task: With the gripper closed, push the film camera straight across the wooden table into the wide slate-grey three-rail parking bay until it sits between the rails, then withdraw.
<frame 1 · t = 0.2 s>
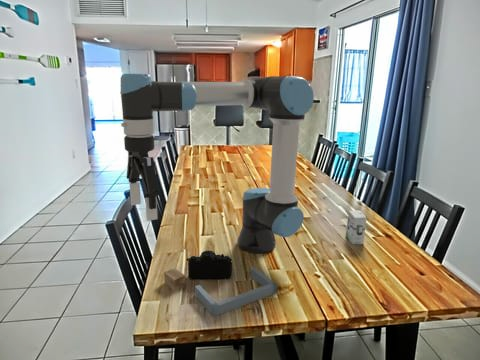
hand: (143, 211, 98), 28 cm above the table, fingers open, 13 cm apart
film camera: (209, 273, 120), on the table
oak chock block: (174, 285, 113), on the table
bay: (237, 294, 108), on the table
ink box: (354, 240, 148), on the table
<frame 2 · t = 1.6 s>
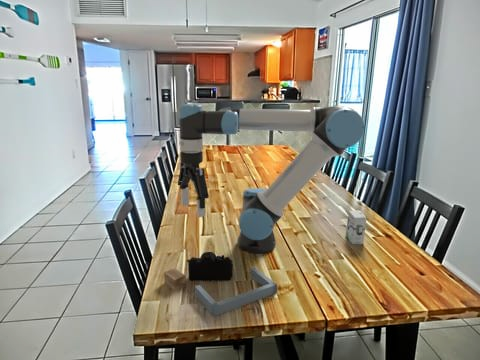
hand: (192, 210, 126), 18 cm above the table, fingers open, 12 cm apart
nothing on the table moved.
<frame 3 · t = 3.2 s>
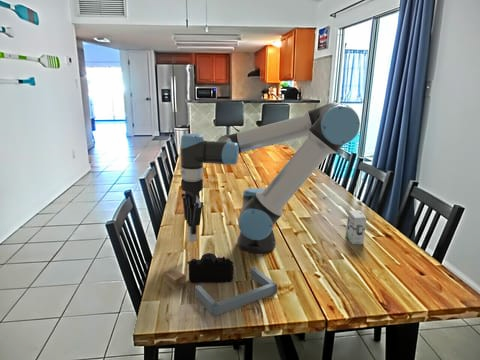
hand: (192, 241, 129), 6 cm above the table, fingers closed
film camera: (210, 276, 119), on the table
everything else where it was.
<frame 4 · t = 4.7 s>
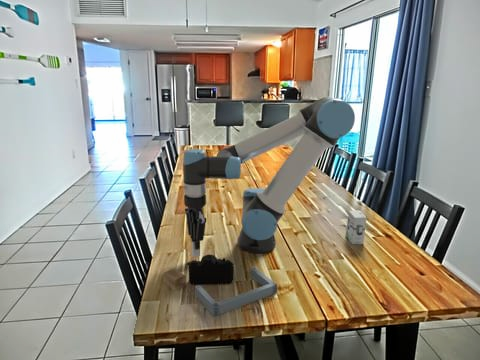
hand: (195, 255, 129), 1 cm above the table, fingers closed
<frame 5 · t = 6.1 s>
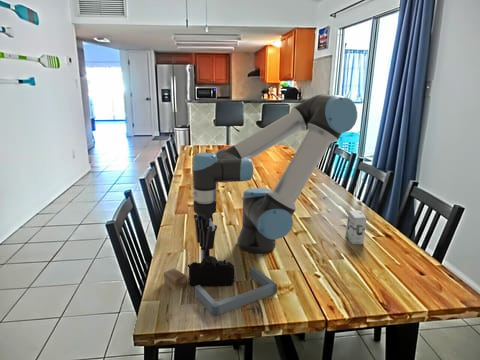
hand: (205, 264, 123), 1 cm above the table, fingers closed
film camera: (211, 280, 116), on the table, touching gripper
everything else where it was.
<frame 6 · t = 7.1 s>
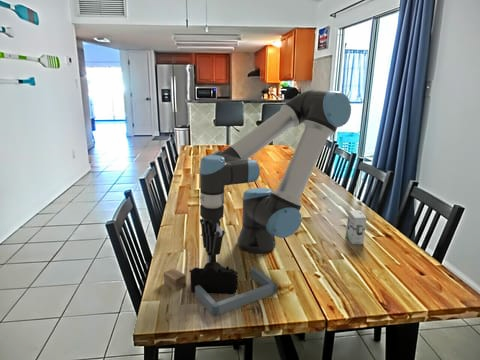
hand: (211, 270, 119), 2 cm above the table, fingers closed
film camera: (213, 286, 113), on the table, touching bay, gripper
everything else where it was.
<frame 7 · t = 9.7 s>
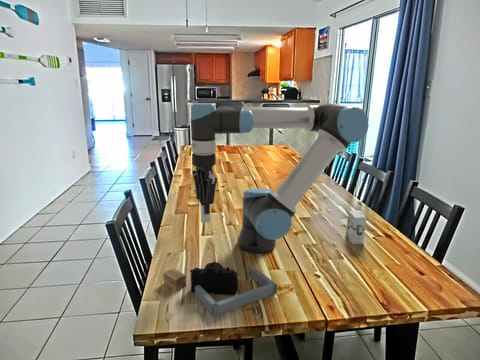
hand: (205, 221, 119), 17 cm above the table, fingers closed
film camera: (214, 287, 113), on the table
everything else where it was.
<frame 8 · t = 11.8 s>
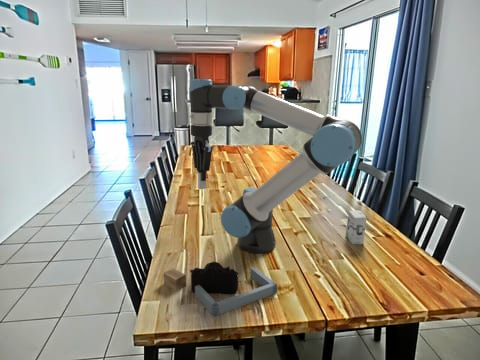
hand: (201, 188, 131), 24 cm above the table, fingers closed
nothing on the table moved.
at the end: film camera inside the target area (4.7 cm from its centre), on the table; film camera tilted 0°; film camera moved 8.7 cm from its start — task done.
